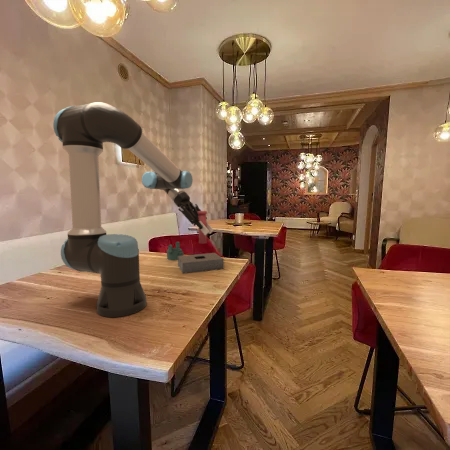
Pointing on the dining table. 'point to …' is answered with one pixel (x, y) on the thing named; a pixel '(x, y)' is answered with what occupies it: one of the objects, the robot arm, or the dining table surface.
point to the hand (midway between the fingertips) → (209, 232)
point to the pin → (203, 219)
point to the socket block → (200, 262)
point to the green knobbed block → (174, 252)
